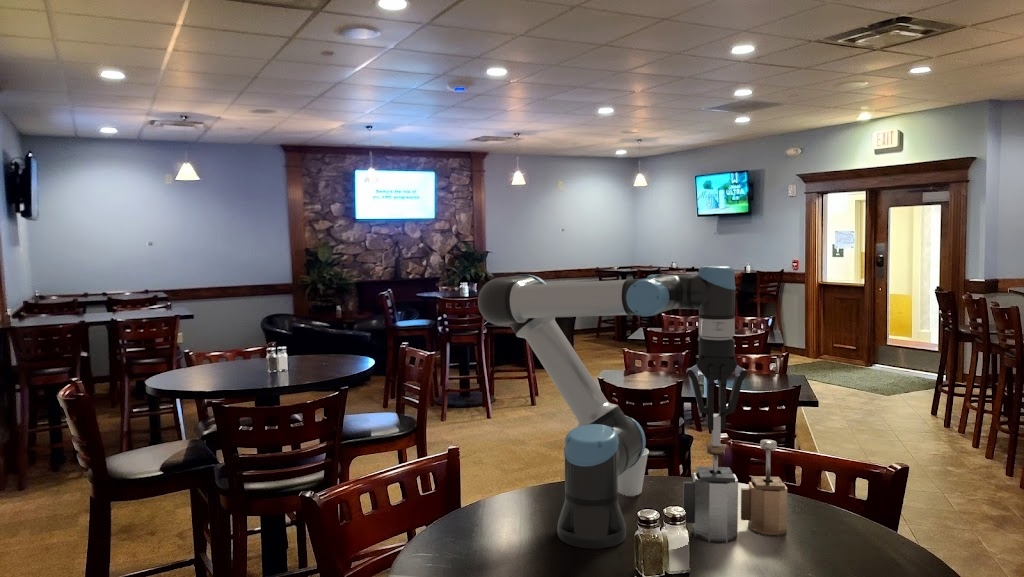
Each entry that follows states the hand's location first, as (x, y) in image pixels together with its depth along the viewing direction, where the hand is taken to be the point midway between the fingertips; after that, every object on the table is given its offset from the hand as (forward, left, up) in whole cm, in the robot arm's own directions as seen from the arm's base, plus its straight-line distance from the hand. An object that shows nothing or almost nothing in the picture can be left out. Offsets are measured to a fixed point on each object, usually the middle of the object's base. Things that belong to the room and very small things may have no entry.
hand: (716, 444), depth 159 cm
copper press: (+12, +4, -20) cm, 24 cm away
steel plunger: (0, 0, -13) cm, 13 cm away
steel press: (0, 0, -20) cm, 20 cm away
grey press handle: (+12, +4, -11) cm, 17 cm away
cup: (-18, +24, -20) cm, 37 cm away
